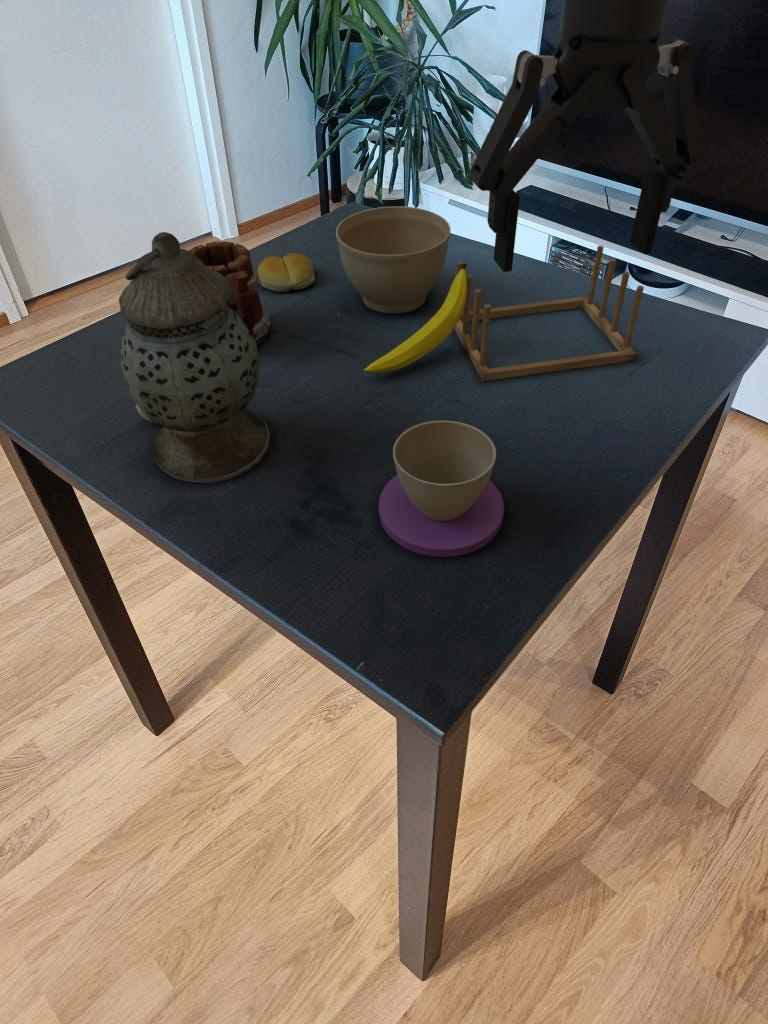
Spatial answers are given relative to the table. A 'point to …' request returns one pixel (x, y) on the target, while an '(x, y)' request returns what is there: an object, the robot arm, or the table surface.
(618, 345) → the rack
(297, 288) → the bread roll
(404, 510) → the lid
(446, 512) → the flower pot
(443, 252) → the planter bowl
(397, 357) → the banana
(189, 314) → the lantern
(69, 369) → the table surface
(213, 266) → the mug
